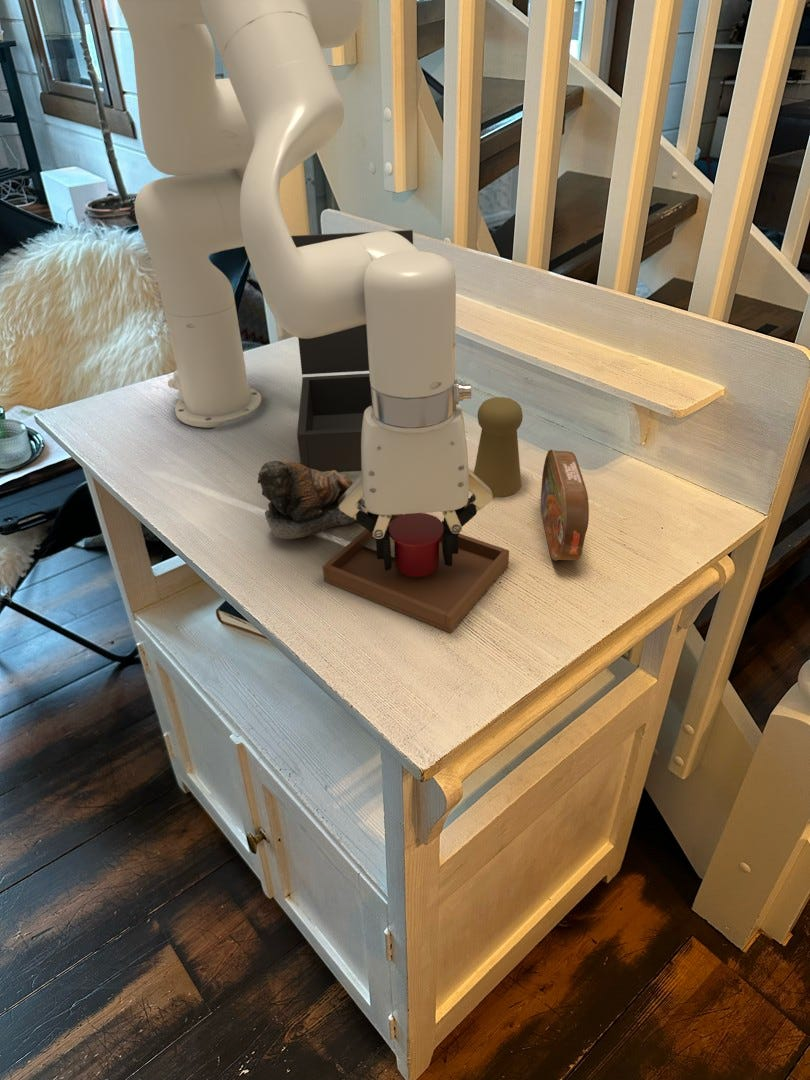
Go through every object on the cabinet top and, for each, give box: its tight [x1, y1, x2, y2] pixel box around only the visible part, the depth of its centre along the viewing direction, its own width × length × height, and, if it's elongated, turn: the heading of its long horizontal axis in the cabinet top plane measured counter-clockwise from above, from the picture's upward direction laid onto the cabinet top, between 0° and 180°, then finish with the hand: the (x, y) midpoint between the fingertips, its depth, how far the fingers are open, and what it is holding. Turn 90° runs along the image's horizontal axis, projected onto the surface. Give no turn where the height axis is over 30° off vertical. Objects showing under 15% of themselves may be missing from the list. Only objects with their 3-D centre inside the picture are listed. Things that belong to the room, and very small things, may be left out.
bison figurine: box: [257, 460, 365, 540], centre depth 84 cm, size 12×7×10 cm, turn 124°
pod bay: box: [296, 372, 372, 473], centre depth 100 cm, size 17×16×6 cm
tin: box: [540, 449, 590, 561], centre depth 82 cm, size 15×3×8 cm, turn 178°
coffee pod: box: [389, 513, 444, 577], centre depth 78 cm, size 6×6×4 cm
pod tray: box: [322, 514, 510, 634], centre depth 79 cm, size 15×12×2 cm
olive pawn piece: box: [473, 396, 524, 498], centre depth 90 cm, size 6×6×11 cm
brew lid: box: [291, 229, 414, 376], centre depth 103 cm, size 18×16×5 cm
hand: (417, 558), depth 78 cm, fingers closed on coffee pod, 5 cm apart
